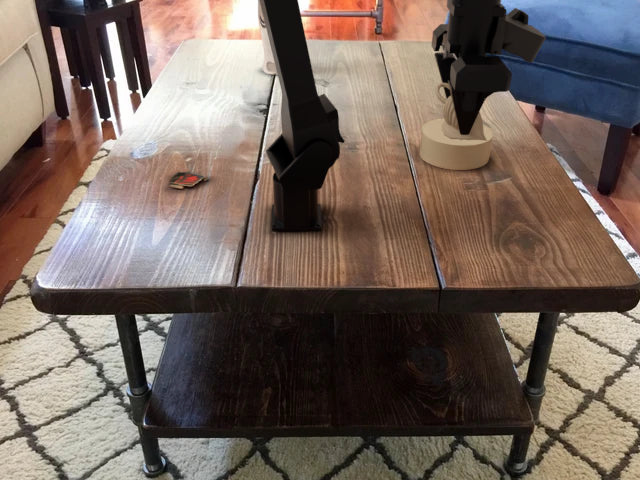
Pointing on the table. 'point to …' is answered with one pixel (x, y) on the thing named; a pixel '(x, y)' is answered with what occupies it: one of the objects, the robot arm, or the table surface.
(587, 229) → the table surface
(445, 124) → the decorative ornament
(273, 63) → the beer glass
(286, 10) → the robot arm
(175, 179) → the matchbox
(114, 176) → the table surface
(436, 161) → the ceramic puck
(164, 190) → the table surface
